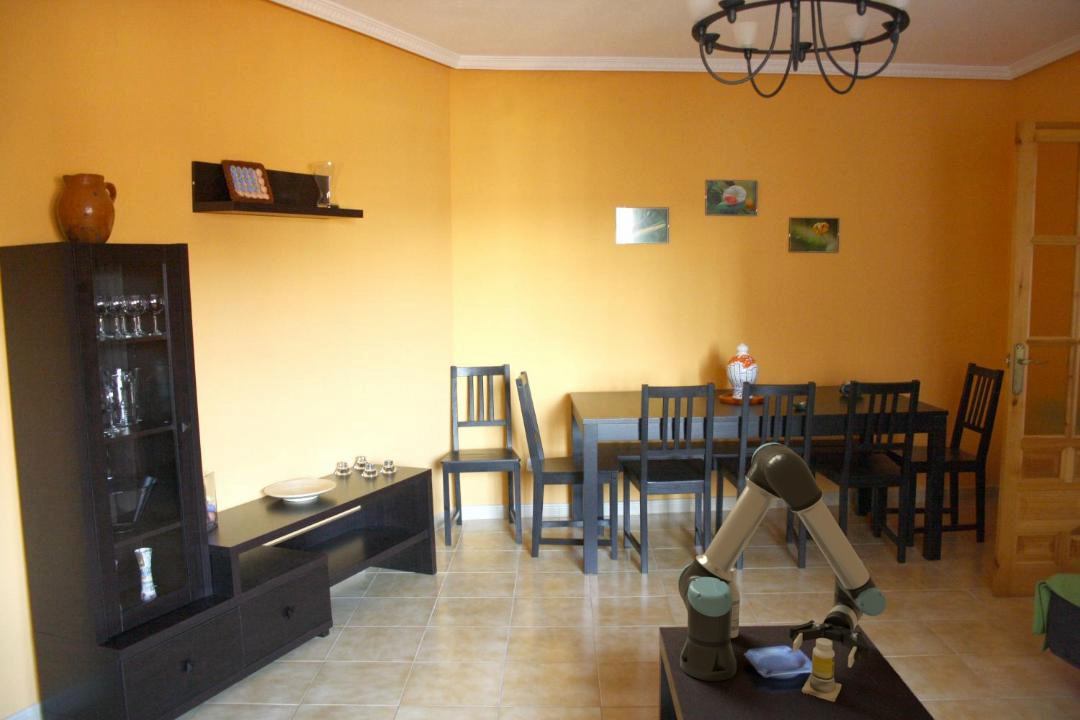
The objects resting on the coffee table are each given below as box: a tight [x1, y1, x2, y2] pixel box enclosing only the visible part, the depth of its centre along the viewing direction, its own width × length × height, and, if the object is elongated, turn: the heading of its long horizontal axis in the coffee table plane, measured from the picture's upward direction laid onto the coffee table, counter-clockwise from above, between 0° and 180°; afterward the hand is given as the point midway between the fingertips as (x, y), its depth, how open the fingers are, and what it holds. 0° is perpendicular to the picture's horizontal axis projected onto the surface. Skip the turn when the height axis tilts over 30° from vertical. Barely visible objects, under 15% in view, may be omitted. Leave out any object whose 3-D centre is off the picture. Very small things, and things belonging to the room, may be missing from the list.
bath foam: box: [728, 568, 741, 639], centre depth 229 cm, size 7×7×20 cm
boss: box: [801, 672, 842, 703], centre depth 199 cm, size 8×8×4 cm
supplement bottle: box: [811, 638, 836, 682], centre depth 198 cm, size 5×5×10 cm
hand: (821, 654), depth 196 cm, fingers open, 13 cm apart
